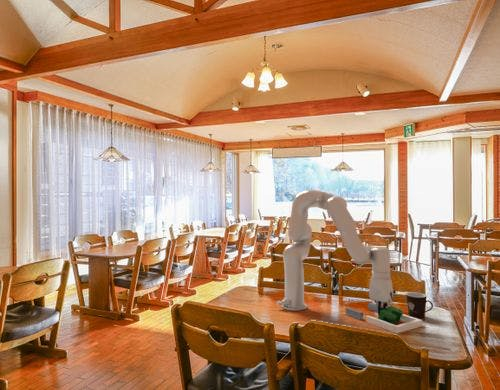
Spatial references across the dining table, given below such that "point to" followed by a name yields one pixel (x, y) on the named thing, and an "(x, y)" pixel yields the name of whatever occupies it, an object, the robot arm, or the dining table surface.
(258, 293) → the dining table surface
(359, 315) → the vise
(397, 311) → the green lumpy block
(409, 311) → the coffee mug
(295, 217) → the robot arm
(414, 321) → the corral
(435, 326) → the dining table surface
